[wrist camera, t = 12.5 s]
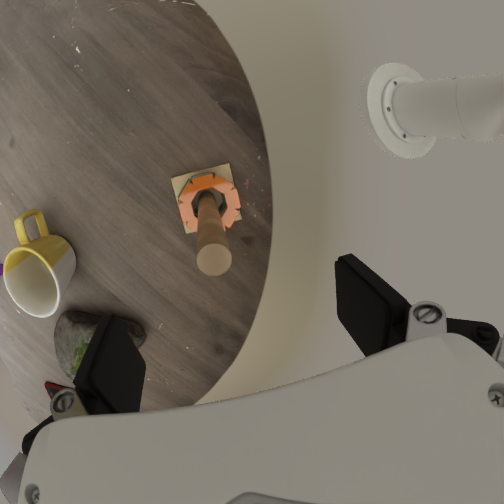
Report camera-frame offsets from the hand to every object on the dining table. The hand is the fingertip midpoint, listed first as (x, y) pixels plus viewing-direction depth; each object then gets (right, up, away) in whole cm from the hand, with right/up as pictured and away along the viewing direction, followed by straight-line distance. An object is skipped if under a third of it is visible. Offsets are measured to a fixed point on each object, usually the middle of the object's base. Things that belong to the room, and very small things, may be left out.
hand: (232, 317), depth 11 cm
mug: (-30, +4, +24) cm, 38 cm away
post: (-5, +10, +26) cm, 28 cm away
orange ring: (-5, +9, +23) cm, 25 cm away
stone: (-26, -12, +31) cm, 42 cm away
